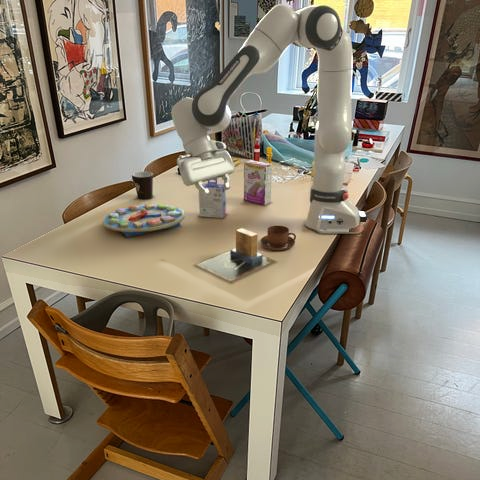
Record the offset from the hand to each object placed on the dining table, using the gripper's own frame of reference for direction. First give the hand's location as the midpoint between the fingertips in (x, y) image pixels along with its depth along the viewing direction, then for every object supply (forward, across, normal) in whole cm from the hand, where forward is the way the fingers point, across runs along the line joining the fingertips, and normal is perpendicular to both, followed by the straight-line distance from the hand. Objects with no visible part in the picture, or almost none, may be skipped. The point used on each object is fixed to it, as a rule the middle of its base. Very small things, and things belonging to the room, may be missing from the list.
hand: (217, 192), depth 154 cm
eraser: (+23, 0, 0) cm, 23 cm away
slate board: (+24, -5, 0) cm, 24 cm away
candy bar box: (+3, +45, +30) cm, 54 cm away
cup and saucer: (+24, +16, 0) cm, 28 cm away
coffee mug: (-19, +16, +64) cm, 68 cm away
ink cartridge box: (+3, +21, +31) cm, 37 cm away
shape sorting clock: (-4, -4, +41) cm, 42 cm away
